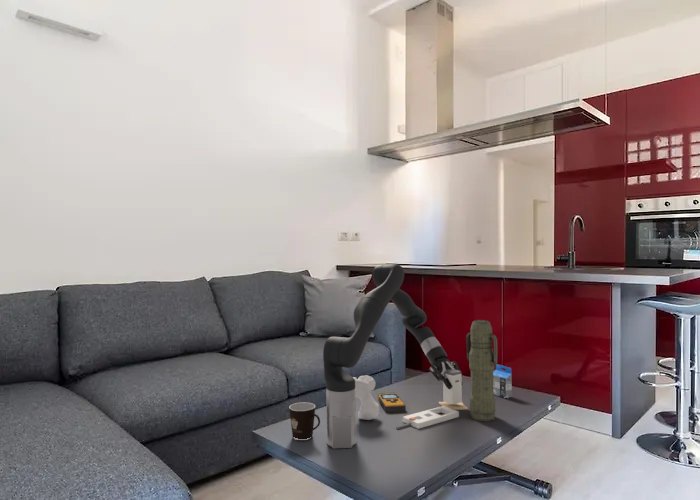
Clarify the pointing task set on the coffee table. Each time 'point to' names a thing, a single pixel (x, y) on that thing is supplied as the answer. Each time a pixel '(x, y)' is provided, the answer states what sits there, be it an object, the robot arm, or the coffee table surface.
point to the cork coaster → (454, 406)
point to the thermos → (481, 369)
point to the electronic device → (391, 402)
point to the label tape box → (502, 381)
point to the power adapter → (456, 391)
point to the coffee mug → (303, 419)
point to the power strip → (428, 417)
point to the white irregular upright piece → (366, 397)
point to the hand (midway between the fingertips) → (455, 386)
